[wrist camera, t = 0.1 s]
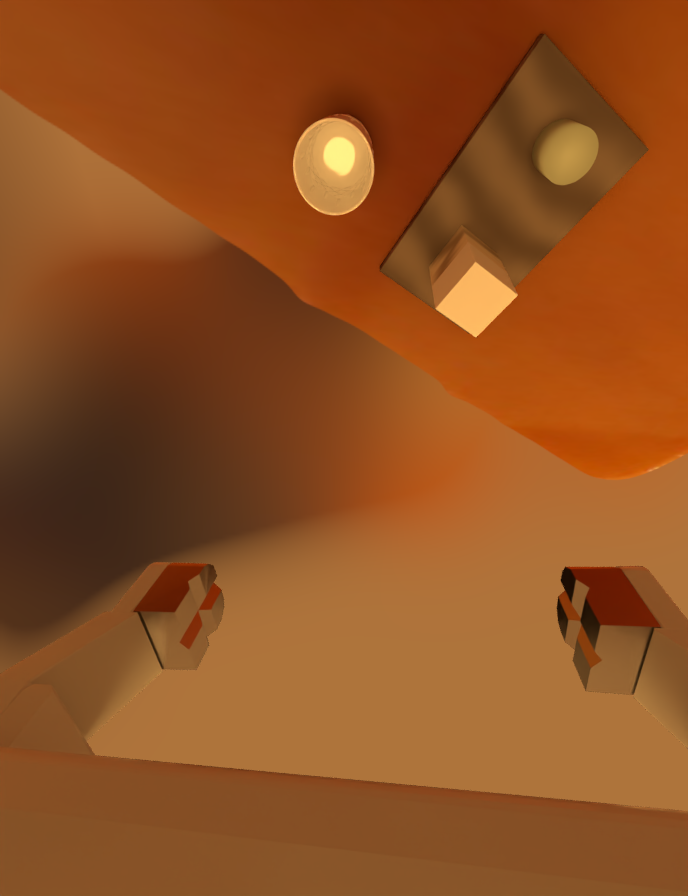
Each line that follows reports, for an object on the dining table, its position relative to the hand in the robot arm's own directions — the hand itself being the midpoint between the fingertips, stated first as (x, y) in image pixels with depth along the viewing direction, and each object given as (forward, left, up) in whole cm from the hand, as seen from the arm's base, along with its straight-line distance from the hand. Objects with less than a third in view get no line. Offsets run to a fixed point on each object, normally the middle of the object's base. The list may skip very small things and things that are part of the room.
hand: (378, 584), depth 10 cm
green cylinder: (-11, +14, -50) cm, 53 cm away
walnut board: (-3, +14, -52) cm, 54 cm away
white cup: (+2, -5, -52) cm, 52 cm away
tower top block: (+3, +14, -44) cm, 47 cm away
